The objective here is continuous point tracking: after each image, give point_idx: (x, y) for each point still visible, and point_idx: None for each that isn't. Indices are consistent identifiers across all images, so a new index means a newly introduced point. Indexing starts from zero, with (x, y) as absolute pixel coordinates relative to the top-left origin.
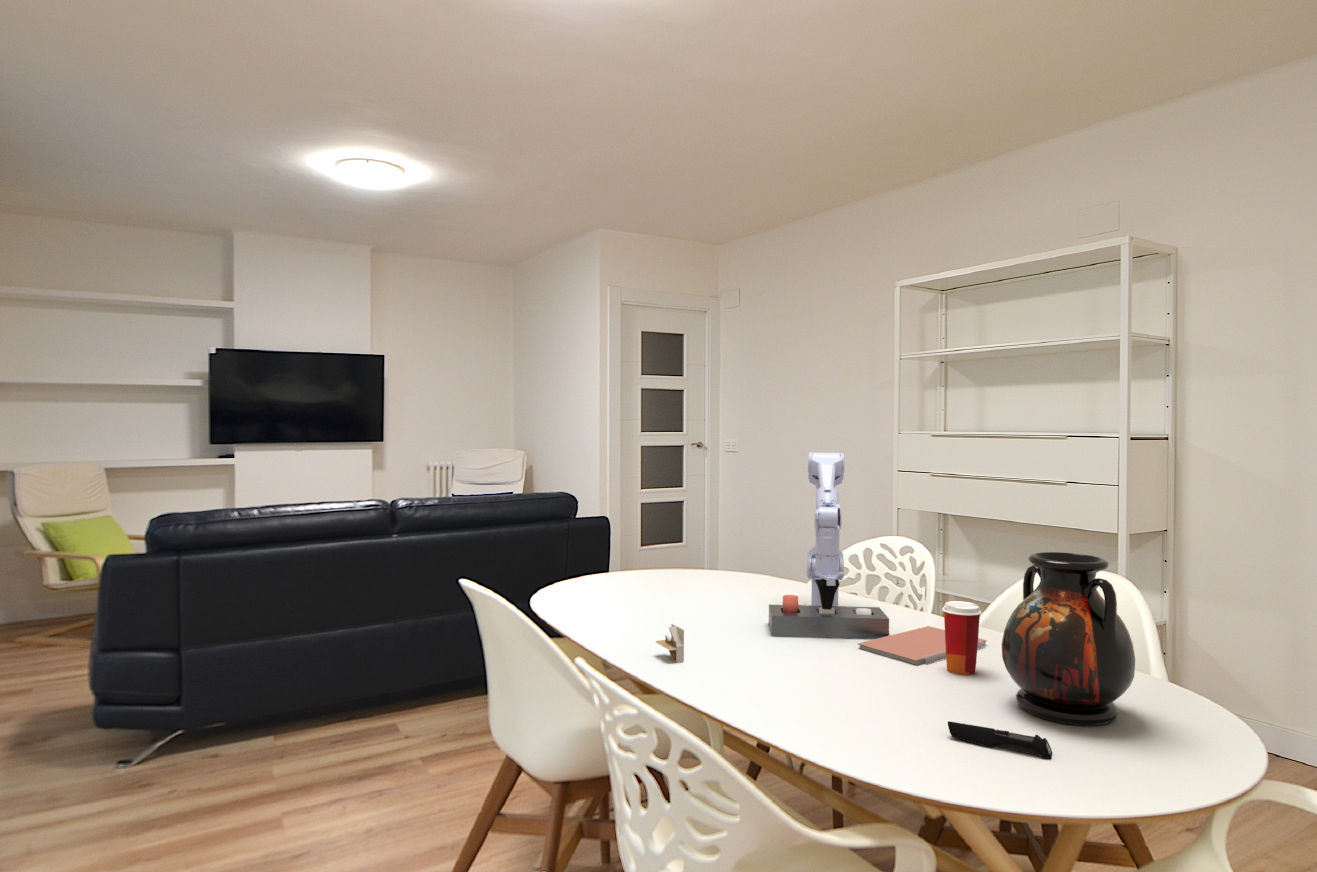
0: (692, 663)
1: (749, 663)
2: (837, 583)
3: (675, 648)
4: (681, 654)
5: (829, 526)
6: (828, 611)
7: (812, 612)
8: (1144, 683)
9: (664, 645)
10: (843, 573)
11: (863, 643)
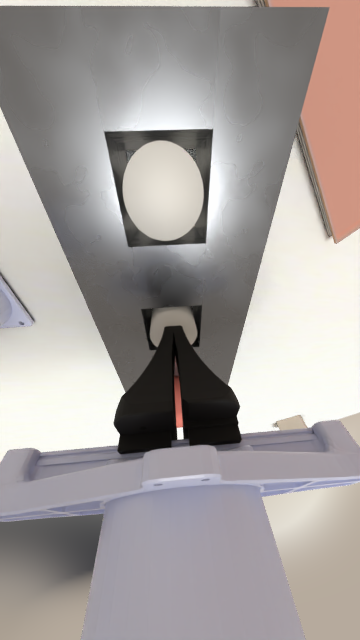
0: (307, 410)
1: (329, 382)
2: (230, 406)
3: None
4: (304, 423)
5: None
6: (196, 330)
7: None
8: None
9: None
10: (217, 472)
11: (343, 225)
